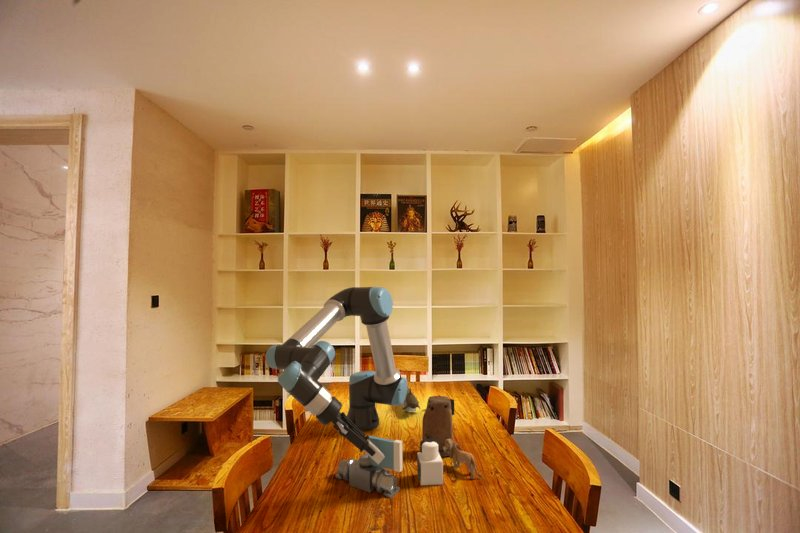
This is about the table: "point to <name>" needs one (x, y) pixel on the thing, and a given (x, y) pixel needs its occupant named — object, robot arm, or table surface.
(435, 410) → the brown rough block
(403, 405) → the wood carving
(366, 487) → the valve
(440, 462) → the medicine bottle
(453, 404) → the digital camera
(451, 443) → the lion figurine
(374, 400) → the robot arm
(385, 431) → the table surface
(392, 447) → the lever
